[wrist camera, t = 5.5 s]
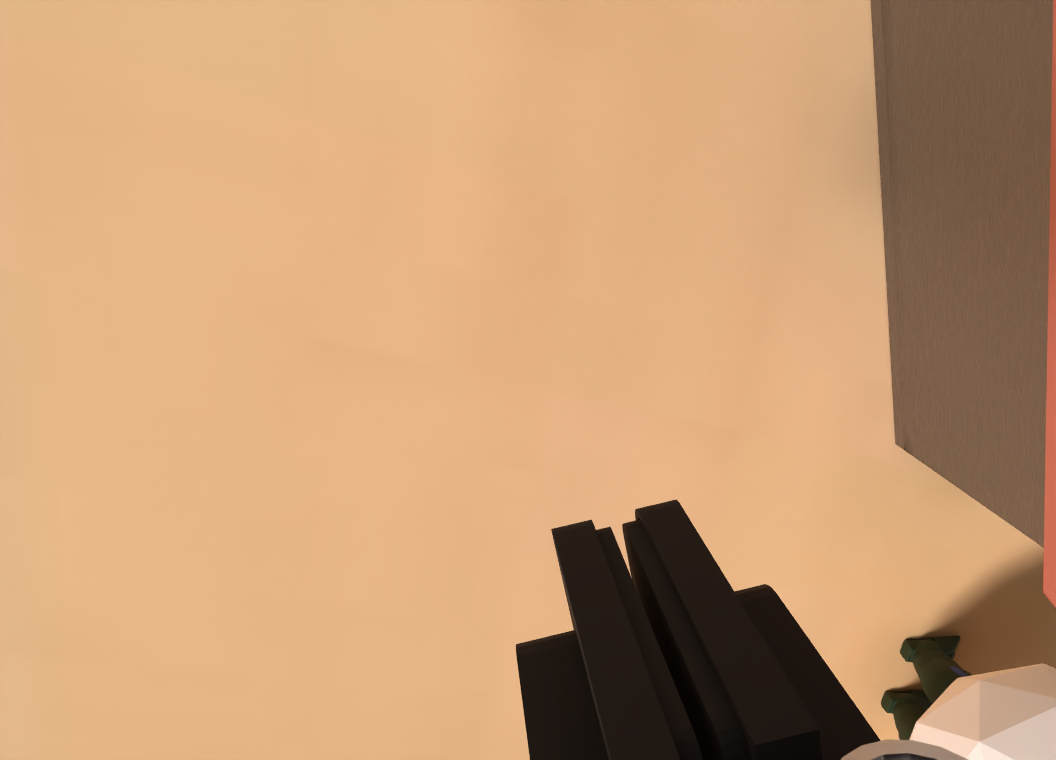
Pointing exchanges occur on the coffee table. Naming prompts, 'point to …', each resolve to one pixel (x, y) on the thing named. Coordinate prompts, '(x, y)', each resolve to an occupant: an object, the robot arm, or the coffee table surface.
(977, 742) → the bird figurine
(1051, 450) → the lid
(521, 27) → the coffee table surface
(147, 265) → the coffee table surface
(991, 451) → the box
